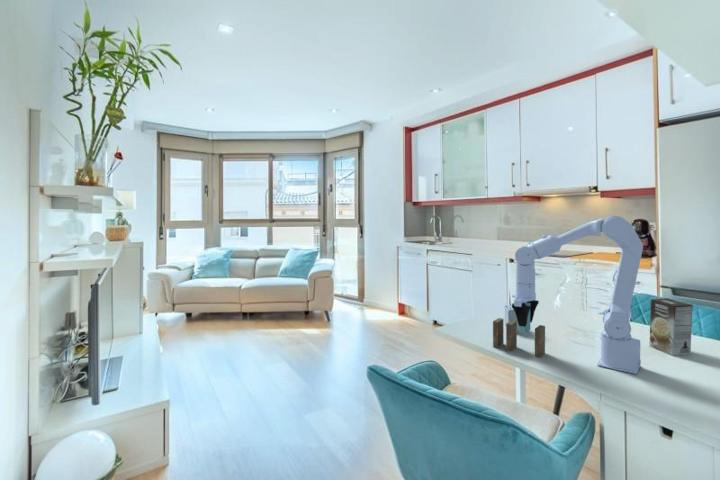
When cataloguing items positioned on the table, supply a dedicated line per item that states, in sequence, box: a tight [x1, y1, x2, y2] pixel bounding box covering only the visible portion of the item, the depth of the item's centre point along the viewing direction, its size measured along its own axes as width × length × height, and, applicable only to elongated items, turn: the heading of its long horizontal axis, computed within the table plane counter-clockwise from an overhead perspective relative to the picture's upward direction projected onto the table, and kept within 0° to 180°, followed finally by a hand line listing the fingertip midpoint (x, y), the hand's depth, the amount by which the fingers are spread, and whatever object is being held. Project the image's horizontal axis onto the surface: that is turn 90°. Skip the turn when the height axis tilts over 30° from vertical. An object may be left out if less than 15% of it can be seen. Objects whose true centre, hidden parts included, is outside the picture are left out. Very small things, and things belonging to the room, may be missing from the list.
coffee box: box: [649, 297, 694, 357], centre depth 119 cm, size 9×6×16 cm
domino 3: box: [534, 324, 546, 359], centre depth 119 cm, size 2×5×9 cm, turn 137°
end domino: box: [492, 317, 505, 349], centre depth 128 cm, size 2×5×9 cm, turn 138°
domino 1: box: [505, 320, 518, 352], centre depth 125 cm, size 2×5×9 cm, turn 137°
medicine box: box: [504, 304, 520, 333], centre depth 145 cm, size 8×4×9 cm, turn 168°
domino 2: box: [519, 303, 531, 334], centre depth 121 cm, size 2×5×9 cm, turn 137°
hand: (525, 323), depth 121 cm, fingers closed on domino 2, 5 cm apart
